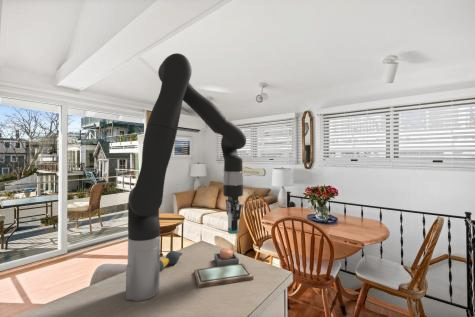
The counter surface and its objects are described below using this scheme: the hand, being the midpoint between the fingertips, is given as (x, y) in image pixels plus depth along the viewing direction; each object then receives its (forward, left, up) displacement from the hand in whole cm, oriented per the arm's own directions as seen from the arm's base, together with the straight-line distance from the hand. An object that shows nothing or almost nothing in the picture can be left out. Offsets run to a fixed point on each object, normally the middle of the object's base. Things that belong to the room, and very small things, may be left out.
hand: (232, 228), depth 88 cm
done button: (-1, +6, -13) cm, 15 cm away
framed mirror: (-5, -4, -15) cm, 17 cm away
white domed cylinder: (0, 0, -2) cm, 2 cm away
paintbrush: (-25, +8, -16) cm, 31 cm away
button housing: (-1, +6, -15) cm, 17 cm away
